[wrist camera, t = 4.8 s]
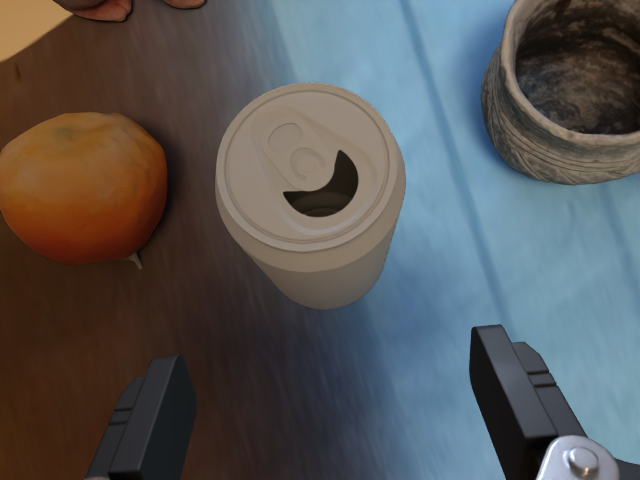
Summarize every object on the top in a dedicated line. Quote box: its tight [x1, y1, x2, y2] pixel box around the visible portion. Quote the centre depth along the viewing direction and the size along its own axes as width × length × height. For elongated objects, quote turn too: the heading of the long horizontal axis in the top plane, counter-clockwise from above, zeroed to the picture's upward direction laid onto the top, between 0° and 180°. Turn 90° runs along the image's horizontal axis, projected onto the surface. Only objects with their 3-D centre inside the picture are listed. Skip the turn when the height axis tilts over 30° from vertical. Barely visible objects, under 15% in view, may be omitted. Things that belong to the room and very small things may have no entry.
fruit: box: [0, 112, 167, 270], centre depth 25 cm, size 8×8×8 cm
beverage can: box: [215, 82, 406, 309], centre depth 21 cm, size 6×6×12 cm
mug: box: [480, 0, 640, 185], centre depth 23 cm, size 10×12×10 cm
